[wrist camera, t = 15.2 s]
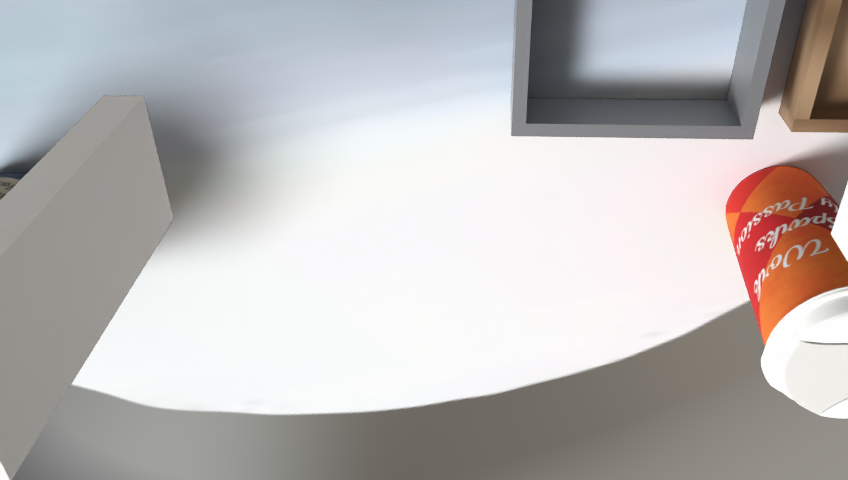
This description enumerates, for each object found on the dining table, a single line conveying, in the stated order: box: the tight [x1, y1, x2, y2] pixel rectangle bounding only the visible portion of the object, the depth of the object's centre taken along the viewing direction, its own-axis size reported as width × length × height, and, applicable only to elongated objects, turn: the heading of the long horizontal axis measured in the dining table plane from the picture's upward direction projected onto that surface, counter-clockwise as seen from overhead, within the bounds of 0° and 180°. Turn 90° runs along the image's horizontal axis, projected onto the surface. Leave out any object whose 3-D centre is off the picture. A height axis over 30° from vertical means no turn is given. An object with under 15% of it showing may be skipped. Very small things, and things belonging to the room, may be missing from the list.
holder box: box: [511, 0, 786, 139], centre depth 43 cm, size 14×14×4 cm
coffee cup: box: [726, 166, 848, 418], centre depth 45 cm, size 8×8×15 cm
